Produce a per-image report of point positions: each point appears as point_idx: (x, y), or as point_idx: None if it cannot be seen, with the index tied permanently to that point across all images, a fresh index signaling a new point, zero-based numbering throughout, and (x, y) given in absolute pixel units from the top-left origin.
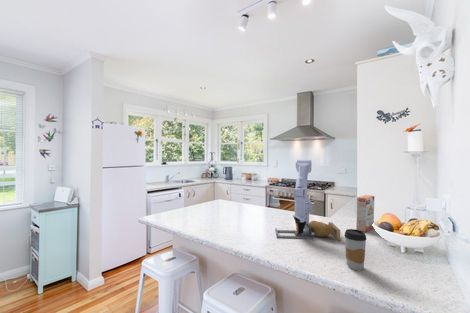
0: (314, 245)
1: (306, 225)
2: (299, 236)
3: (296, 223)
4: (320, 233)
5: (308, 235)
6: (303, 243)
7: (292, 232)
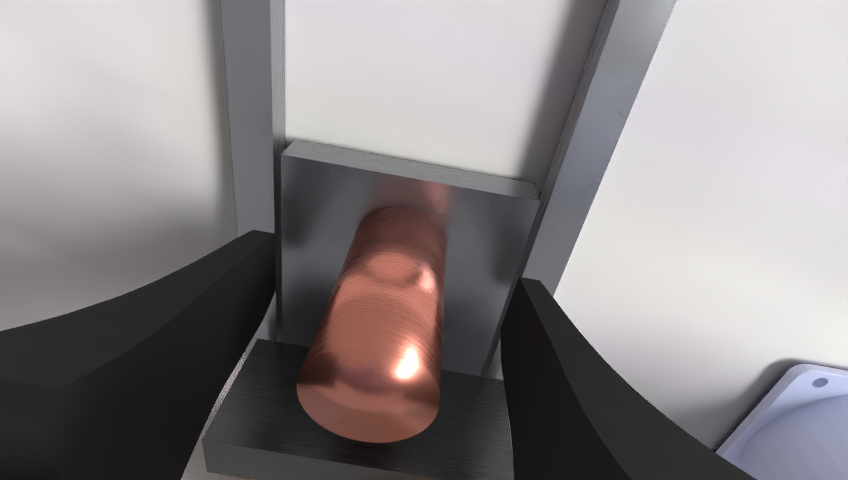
0: (19, 276)
1: (425, 470)
2: (247, 197)
3: (358, 347)
4: None
5: (283, 336)
6: (36, 161)
7: (552, 162)
